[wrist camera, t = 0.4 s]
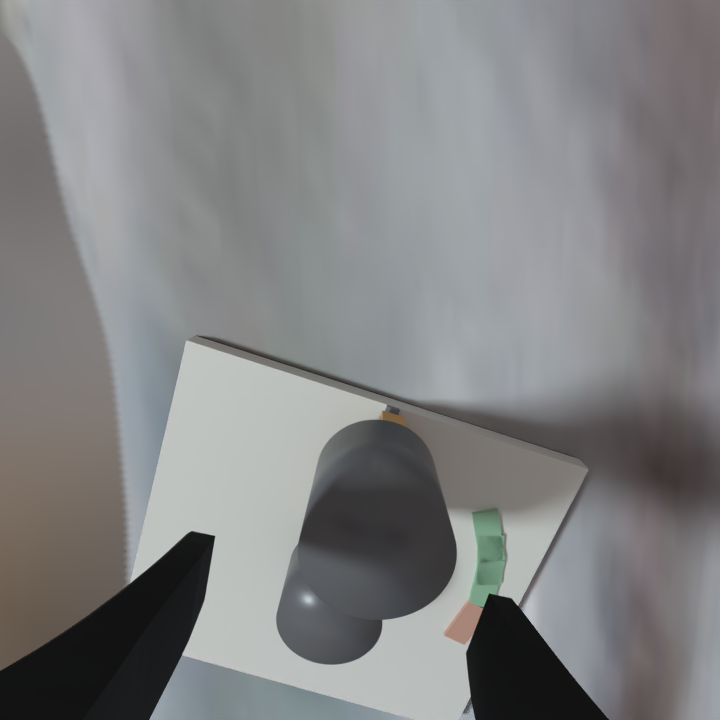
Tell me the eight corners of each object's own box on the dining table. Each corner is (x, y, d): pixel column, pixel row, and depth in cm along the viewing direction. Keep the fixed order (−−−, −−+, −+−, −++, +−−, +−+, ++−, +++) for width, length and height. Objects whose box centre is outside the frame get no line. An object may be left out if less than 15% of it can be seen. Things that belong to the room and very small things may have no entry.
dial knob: (369, 617, 22) (369, 756, 16) (273, 589, 22) (236, 719, 16) (447, 428, 20) (481, 512, 14) (339, 394, 19) (324, 463, 13)
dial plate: (450, 712, 26) (453, 734, 25) (127, 621, 25) (115, 640, 24) (579, 459, 22) (591, 471, 20) (195, 335, 20) (184, 341, 19)
